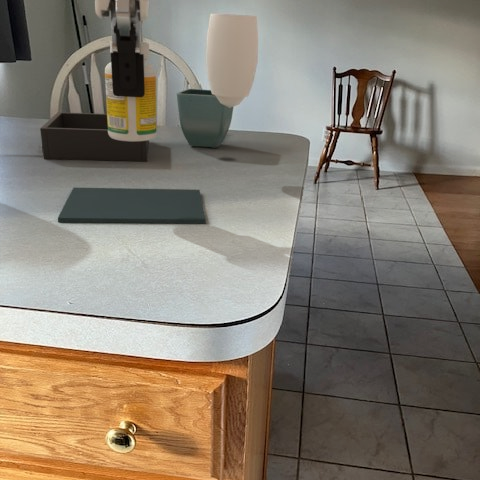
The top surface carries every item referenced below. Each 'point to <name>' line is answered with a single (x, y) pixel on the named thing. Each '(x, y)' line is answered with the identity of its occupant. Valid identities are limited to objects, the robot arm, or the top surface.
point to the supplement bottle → (132, 106)
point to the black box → (87, 139)
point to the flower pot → (203, 117)
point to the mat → (133, 206)
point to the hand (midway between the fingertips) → (130, 90)
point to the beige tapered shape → (231, 56)
